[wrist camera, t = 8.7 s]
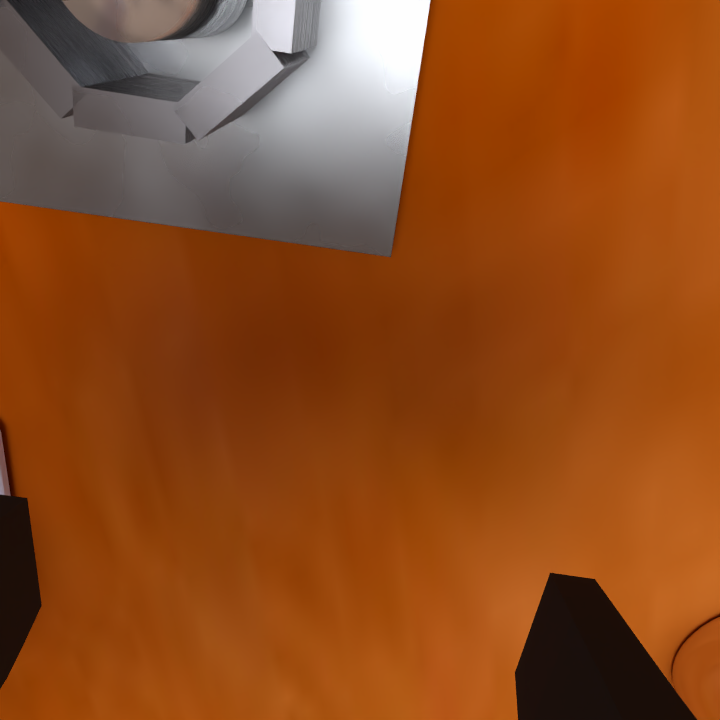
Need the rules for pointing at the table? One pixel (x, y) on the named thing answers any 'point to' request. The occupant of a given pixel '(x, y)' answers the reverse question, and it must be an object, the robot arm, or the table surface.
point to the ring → (146, 90)
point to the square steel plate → (237, 129)
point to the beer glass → (700, 671)
